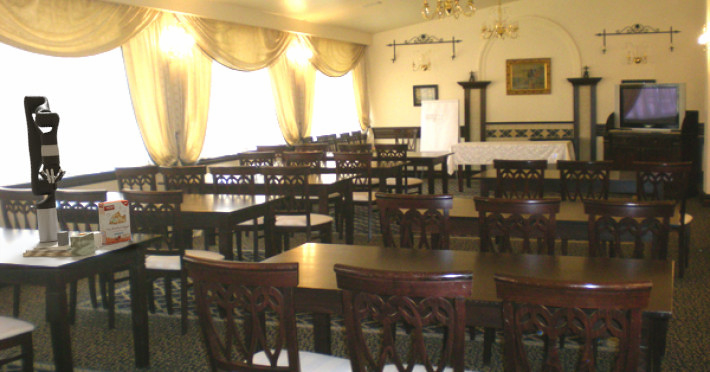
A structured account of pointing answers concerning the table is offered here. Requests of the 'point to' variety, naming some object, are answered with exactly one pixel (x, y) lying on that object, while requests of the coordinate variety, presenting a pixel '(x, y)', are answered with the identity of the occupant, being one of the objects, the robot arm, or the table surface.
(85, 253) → the rail track
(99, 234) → the white cube
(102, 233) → the cracker box
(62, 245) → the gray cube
